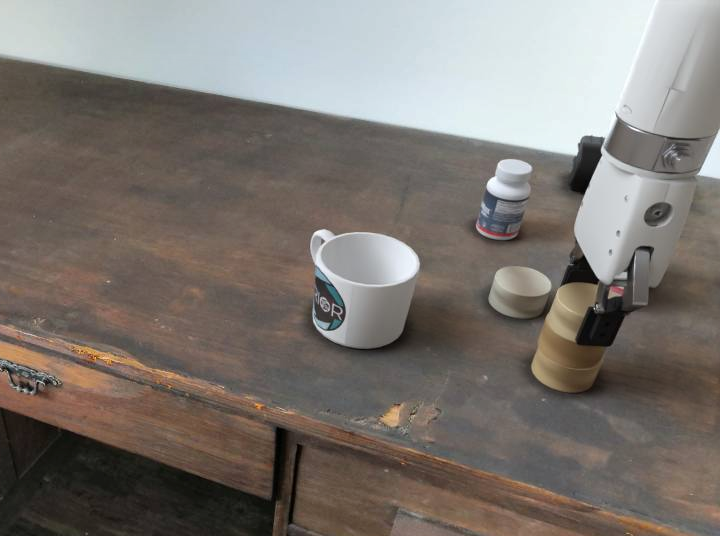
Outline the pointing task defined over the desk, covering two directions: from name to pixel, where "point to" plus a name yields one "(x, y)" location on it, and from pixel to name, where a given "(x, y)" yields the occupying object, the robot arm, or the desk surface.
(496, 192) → the pill bottle
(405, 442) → the desk surface
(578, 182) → the end cap
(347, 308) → the mug
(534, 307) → the ash chip
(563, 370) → the chip pile
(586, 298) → the maple chip
